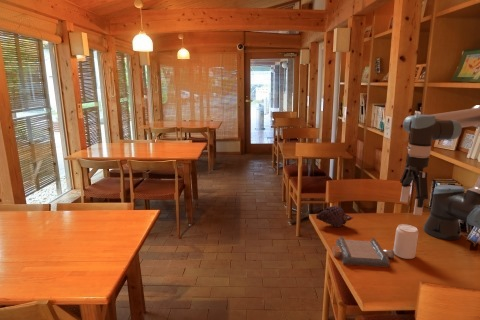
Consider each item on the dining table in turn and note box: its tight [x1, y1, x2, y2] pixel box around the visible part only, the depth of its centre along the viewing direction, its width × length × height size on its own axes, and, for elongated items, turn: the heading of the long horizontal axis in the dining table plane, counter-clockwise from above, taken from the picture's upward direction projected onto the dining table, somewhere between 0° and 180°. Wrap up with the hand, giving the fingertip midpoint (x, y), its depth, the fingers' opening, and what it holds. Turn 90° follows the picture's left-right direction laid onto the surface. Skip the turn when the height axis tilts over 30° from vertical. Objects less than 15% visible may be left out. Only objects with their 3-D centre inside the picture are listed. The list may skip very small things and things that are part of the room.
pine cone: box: [315, 205, 354, 228], centre depth 163 cm, size 18×10×10 cm, turn 88°
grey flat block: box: [331, 235, 395, 268], centre depth 136 cm, size 23×15×4 cm, turn 85°
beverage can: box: [392, 223, 420, 260], centre depth 136 cm, size 8×8×12 cm
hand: (410, 208), depth 133 cm, fingers open, 13 cm apart
